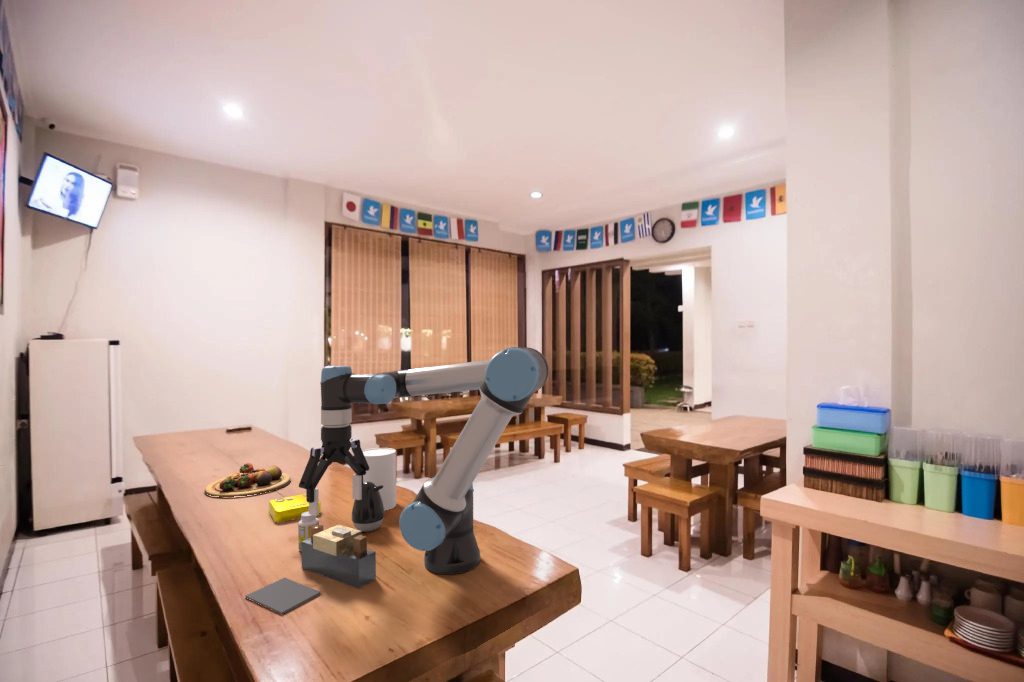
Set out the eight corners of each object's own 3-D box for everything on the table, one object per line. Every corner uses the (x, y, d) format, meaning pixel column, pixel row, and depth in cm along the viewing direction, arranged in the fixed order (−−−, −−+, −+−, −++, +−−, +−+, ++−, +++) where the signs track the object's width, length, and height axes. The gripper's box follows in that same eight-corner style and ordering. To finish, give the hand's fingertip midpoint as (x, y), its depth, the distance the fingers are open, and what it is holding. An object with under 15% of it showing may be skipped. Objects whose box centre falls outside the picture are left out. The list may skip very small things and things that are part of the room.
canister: (398, 509, 171) (398, 453, 171) (359, 514, 166) (358, 457, 166) (393, 498, 183) (393, 446, 183) (356, 502, 178) (356, 449, 178)
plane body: (375, 579, 120) (375, 535, 120) (358, 588, 115) (358, 543, 115) (319, 559, 131) (319, 519, 131) (301, 567, 126) (301, 526, 126)
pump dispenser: (375, 536, 147) (375, 487, 147) (345, 534, 149) (344, 485, 149) (390, 524, 157) (390, 478, 157) (361, 522, 159) (361, 476, 159)
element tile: (275, 524, 158) (275, 510, 158) (268, 512, 170) (267, 498, 170) (322, 515, 167) (322, 501, 167) (312, 503, 179) (311, 490, 179)
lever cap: (361, 544, 124) (361, 527, 124) (336, 556, 117) (336, 538, 117) (338, 537, 129) (338, 521, 129) (313, 548, 122) (312, 531, 122)
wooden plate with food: (217, 480, 212) (217, 462, 211) (295, 473, 221) (294, 455, 221) (193, 504, 181) (192, 483, 181) (284, 495, 191) (283, 474, 190)
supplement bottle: (321, 544, 141) (321, 509, 141) (315, 552, 136) (315, 516, 136) (302, 545, 141) (302, 510, 141) (295, 553, 135) (295, 517, 135)
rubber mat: (320, 594, 113) (320, 591, 113) (281, 615, 104) (281, 612, 104) (284, 579, 120) (284, 577, 120) (245, 598, 111) (245, 595, 111)
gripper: (363, 417, 136) (363, 491, 136) (283, 431, 114) (283, 519, 114) (382, 419, 132) (382, 495, 132) (302, 434, 111) (302, 525, 111)
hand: (336, 506), depth 123 cm, fingers open, 13 cm apart
